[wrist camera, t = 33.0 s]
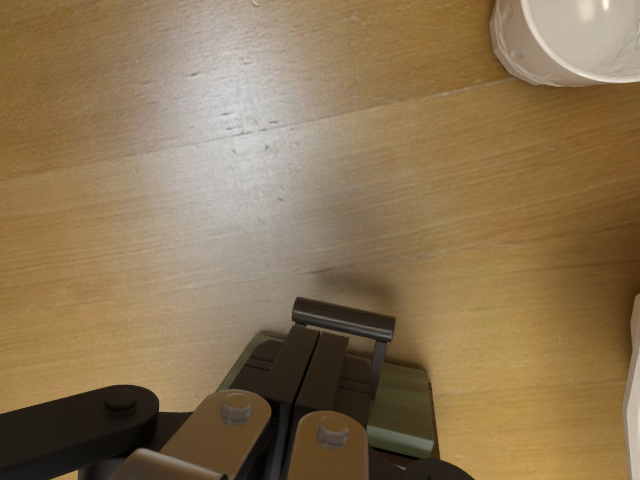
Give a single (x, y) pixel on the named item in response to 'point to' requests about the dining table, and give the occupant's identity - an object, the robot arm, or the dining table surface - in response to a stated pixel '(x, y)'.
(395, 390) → the drawer
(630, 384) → the bowl
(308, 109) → the dining table surface
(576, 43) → the white cup
